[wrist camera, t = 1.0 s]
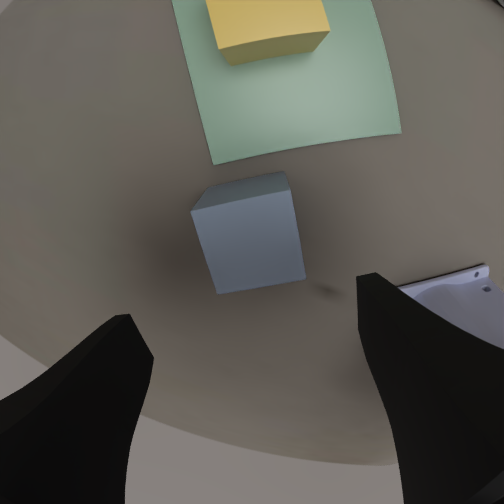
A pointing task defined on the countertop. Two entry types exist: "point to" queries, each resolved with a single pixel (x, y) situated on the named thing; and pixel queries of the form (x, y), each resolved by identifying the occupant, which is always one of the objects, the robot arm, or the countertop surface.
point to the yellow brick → (266, 28)
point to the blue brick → (249, 233)
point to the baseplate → (291, 86)
